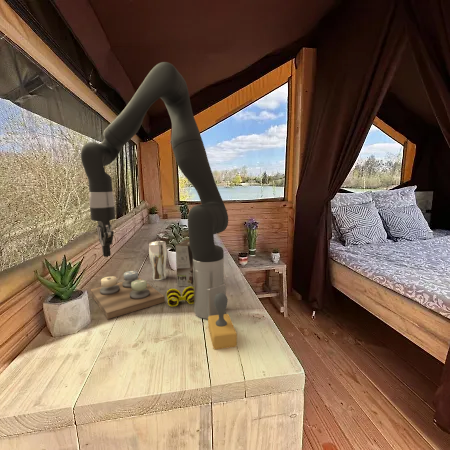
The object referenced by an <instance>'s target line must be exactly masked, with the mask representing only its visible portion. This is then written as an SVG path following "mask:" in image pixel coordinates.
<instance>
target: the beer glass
mask: <svg viewBox="0 0 450 450" xmlns="http://www.w3.org/2000/svg"><path fill="white" fill-rule="evenodd" d="M167 254H168V253H167V243H166V241H164V240H155V241H151V242H149V243H148V255H149V256H148V257H149V262H150V265H151V266H150V267H151V271H152V272H151V280H153V281H154V282H155V281H157V282H158V281H159V282H160V281H164V280H166V279H167V278H168V275H167V271H166V265H167V257H168V256H167Z"/></svg>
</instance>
